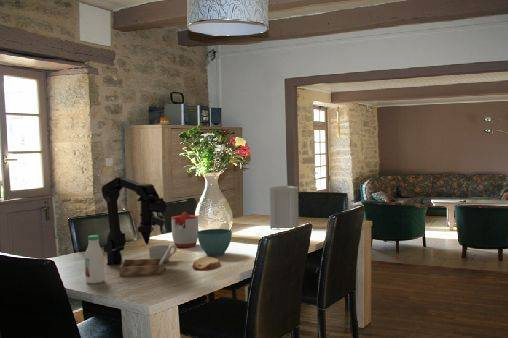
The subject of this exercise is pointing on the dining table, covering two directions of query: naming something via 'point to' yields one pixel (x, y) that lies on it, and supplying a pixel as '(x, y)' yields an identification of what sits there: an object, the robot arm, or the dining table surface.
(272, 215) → the tall grey box
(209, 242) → the teal bowl
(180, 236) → the citrus juicer
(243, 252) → the dining table surface
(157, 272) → the wooden tray
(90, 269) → the milk bottle
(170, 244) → the grey flat panel
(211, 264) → the slice of bread
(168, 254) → the teacup
